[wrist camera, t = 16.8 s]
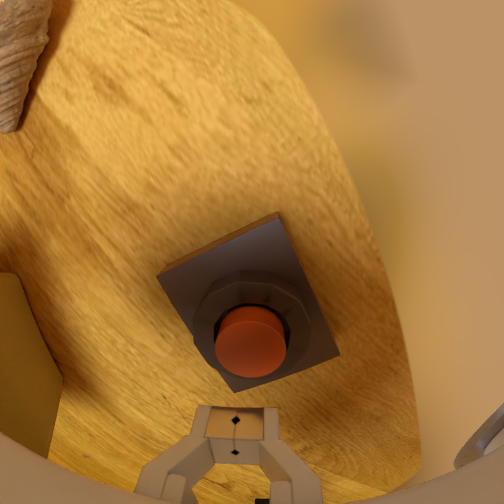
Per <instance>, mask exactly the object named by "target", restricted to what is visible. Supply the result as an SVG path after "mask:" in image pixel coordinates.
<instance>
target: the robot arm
mask: <svg viewBox="0 0 504 504" xmlns="http://www.w3.org/2000/svg"><path fill="white" fill-rule="evenodd" d="M483 454H484V455H485V456H483V457H481V458H479V459H477V460H475V461H473V462H471V463H469V464H467V465H465V466H463V467H461V468H458V469H456V470H454V471H452V472H450V473H447V474H445V475H442V476H440V477H438V478H435V479H432V480H430V481H427V482H424V483H421V484H419V485H416V486H413V487H410V488H406V489H403V490H400V491H396V492H393V493H389V494H386V495H382V496H378V497H374V498H369V499H365V500H360V501H355V502H350V503H344V504H504V427H503V428H502V429H501V431H500V432H499V433H498V434H497V435H496V436H495V437H494V438H493V439H492V441H491V442H490V443H489V444H488V446H487V447H486V449H485V450H484V453H483ZM215 463H223V464H245V465H259V466H260V467H261V469H262V470H263V472H264V473H265V475H266V476H267V477H268V479H269V480H270V481H271V483H272V484H271V485H270V500H269V504H323V497H322V489H321V482H320V477H319V476H318V475H317V474H316V473H315V472H314V471H313V470H312V469H311V468H310V467H309V466H308V465H307V464H306V463H305V462H304V461H303V460H302V459H301V458H300V457H299V456H298V455H297V454H296V453H295V452H294V451H293V450H292V449H291V448H290V447H289V446H288V445H287V443H286V442H285V441H284V440H279V419H278V408H277V407H276V408H232V407H218V406H205V405H199V406H198V407H197V409H196V413H195V417H194V421H193V424H192V428H191V432H190V435H189V436H185V437H183V438H182V439H181V440H179V441H178V442H177V443H175V444H174V445H173V446H171V447H170V448H169V449H167V450H166V451H165V452H163V453H162V454H161V455H159V456H158V457H156V458H155V459H154V460H152V461H151V462H149V463H148V464H146V465H145V466H143V468H142V471H141V474H140V477H139V479H138V482H137V485H136V487H135V490H134V493H133V492H130V491H126V490H123V489H119V488H116V487H113V486H110V485H107V484H104V483H101V482H99V481H96V480H93V479H91V478H88V477H86V476H83V475H81V474H78V473H76V472H73V471H71V470H69V469H67V468H64V467H62V466H60V465H58V464H56V463H54V462H52V461H50V460H48V459H46V458H44V457H42V456H40V455H38V454H36V453H35V452H33V451H31V450H29V449H27V448H26V447H24V446H22V445H21V444H19V443H17V442H16V441H14V440H12V439H11V438H9V437H8V436H6V435H5V434H3V433H2V432H0V504H198V501H197V499H196V497H195V495H194V493H193V491H192V489H191V488H192V487H193V486H194V485H195V484H196V483H197V482H198V481H199V480H200V479H201V478H202V477H203V476H204V475H205V474H206V473H207V472H208V471H209V470H210V469H211V468H212V467H213V466H214V465H215Z"/></svg>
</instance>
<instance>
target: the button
mask: <svg viewBox="0 0 504 504" xmlns="http://www.w3.org/2000/svg"><path fill="white" fill-rule="evenodd" d="M215 353H216V356H217V358H218V360H219V362H220V363H221V364H222V366H223V367H224V368H226V369H227V370H228V371H230V372H232V373H234V374H236V375H239V376H243V377H260V376H264V375H267V374H269V373H271V372H273V371H274V370H276V369H277V368H278V367H279V366H280V365H281V363H282V362H283V360H284V358H285V354H286V344H285V334H284V327H283V324H282V322H281V321H280V319H279V318H278V317H277V316H276V315H275V314H274V313H273V312H271V311H270V310H268V309H266V308H263V307H259V306H243V307H239V308H236V309H234V310H233V311H231V312H230V313H228V314H227V315H226V316H225V318H224V319H223V321H222V323H221V325H220V329H219V332H218V336H217V339H216V343H215Z"/></svg>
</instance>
